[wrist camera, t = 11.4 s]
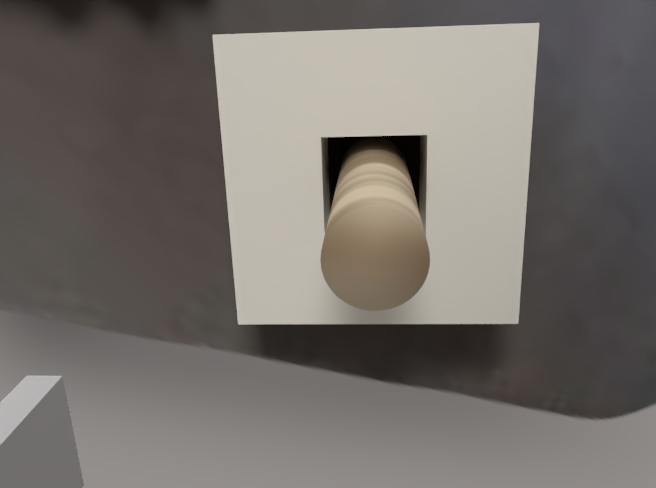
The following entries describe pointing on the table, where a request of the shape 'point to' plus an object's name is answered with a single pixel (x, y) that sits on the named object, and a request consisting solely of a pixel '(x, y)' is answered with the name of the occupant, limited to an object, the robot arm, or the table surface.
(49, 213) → the table surface
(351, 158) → the dowel
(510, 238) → the socket block
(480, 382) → the table surface
